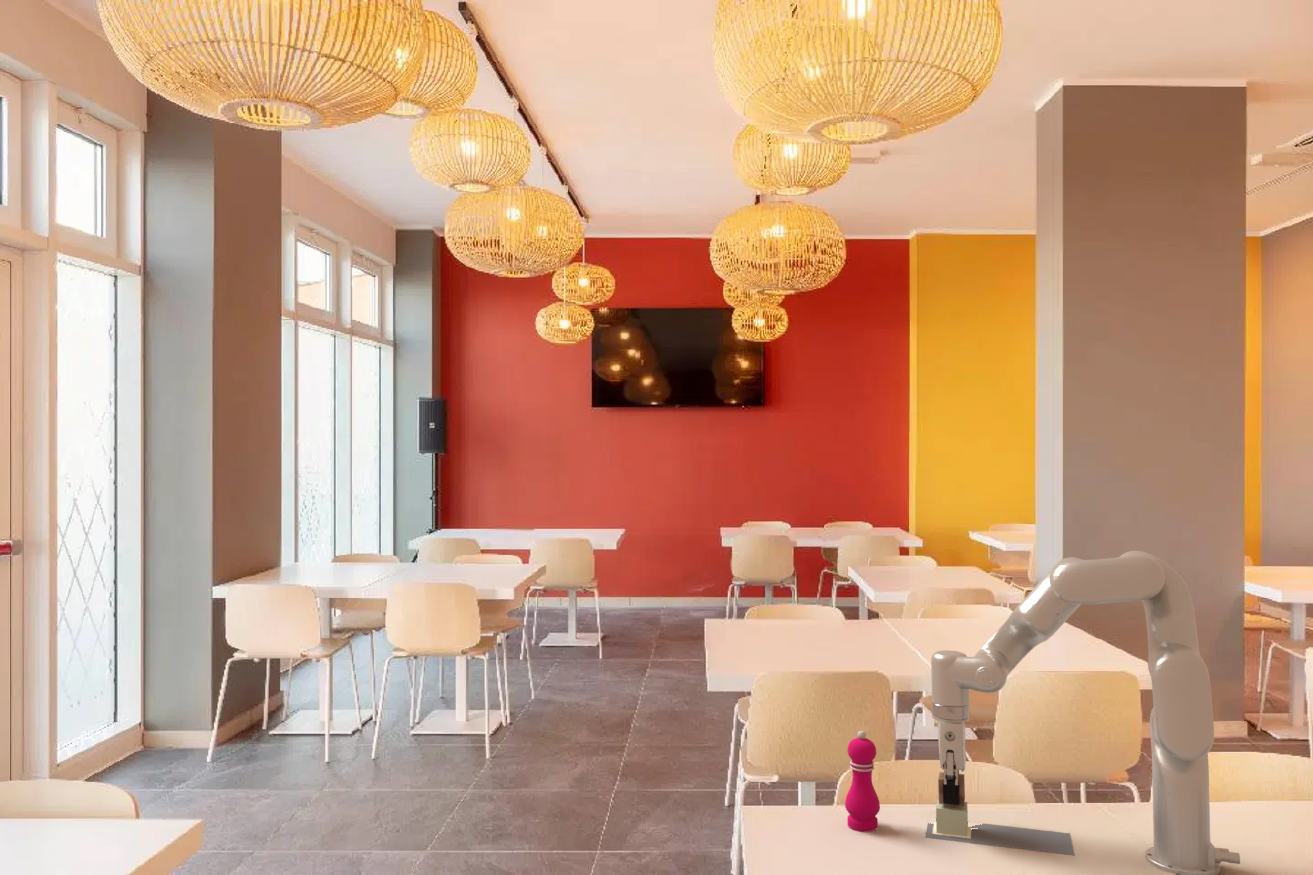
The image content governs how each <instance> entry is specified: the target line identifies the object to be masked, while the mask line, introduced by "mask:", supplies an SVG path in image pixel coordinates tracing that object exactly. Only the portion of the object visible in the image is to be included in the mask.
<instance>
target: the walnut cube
mask: <svg viewBox="0 0 1313 875" xmlns="http://www.w3.org/2000/svg"><path fill="white" fill-rule="evenodd" d="M953 774H954V773H953ZM937 781H938V788H937V789H938V799H939V804H944V803H943V783H944V771H943V772H941V771H940V772H939V774H938V779H937ZM965 781H966V779H965V774H963V773H959V774H958V785H959V799H960V803H959V805H956V806H964V804H965V802H966V791H965V790H966V788H965V787H966V786H965V785H966V784H965ZM946 805H952V804H946Z"/></svg>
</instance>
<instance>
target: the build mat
mask: <svg viewBox="0 0 1313 875" xmlns="http://www.w3.org/2000/svg"><path fill="white" fill-rule="evenodd" d="M982 823H983V822H982ZM926 826H927V827H926V831H925V838H927V839H935V840H943V841H949V842H950V841H951V842H959V843H966V844H968V843H969V844H975V845H983V846H984V845H985V846H990V847H991V846H992V847H999V848H1006V849H1007V848H1008V849H1017V850H1025V851H1030V852H1031V851H1032V852H1041V853H1048V854H1056V855H1057V854H1058V855H1064V856H1072V857H1074V856H1075V855H1076V854H1075V850H1074V845H1073V841H1072V838H1071V837H1072V836H1071V833H1070V832H1061V831H1055V830H1054V831H1053V830H1052V831H1051V830H1043V829H1036V828H1027V827H1019V826H1009V825H999V824H993V823H991V824H990V823H983V824H982V825H981V824H980V825H975V826H972V827H971V825H968V830H967V836H959V835H951V834H942V833H937V830H936V822H934V824H931V823H930V824H929V823H928V822H927V825H926ZM971 828H978V829H972V830H971Z"/></svg>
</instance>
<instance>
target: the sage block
mask: <svg viewBox="0 0 1313 875" xmlns="http://www.w3.org/2000/svg"><path fill="white" fill-rule="evenodd" d="M935 808H936V809H935V812H936V813H935V814H936V816H935V818H936V830H937V833H942V834H951V835H959V836H967V830H968V822H969V820H968V818H969V817H968V801H965V804H964V806H956V805H946V804H939V798H937V801H936V807H935Z"/></svg>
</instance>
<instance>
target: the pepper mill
mask: <svg viewBox="0 0 1313 875" xmlns="http://www.w3.org/2000/svg"><path fill="white" fill-rule="evenodd" d="M847 754H848V757H849V758H850V761H849V764H850V765H849V769H851V771H852V781H851V785H850V787H849V789H848V791H847V793H846V797H845V800H844V808H845V810H846V811H847V813H848V814H849V815H847V826H848V827H849V829H851V830H854V831H856V830H857V832H865V833H866V832H873V830H874V831H876V830H877V829H878V828H879V827H878V826H879V824H878V823H879V822H878V821H879V820H878V817H877V815H878V813H880V811H881V810H880V809H881V806H880V800H879V796H878V794H877V792H876V790H875V787H874V784H873V778H872V776H873V775H872V774H873V771H874V769H875V766H874V765H875V762H874V759H875V758H876V756H877V747H876V745H875V743H874V742H873V741H872V740H871V739H869V738H867V734H866V732H865V731H863V730H859V731H858V732H857V737H855V738H853V739H851V740H850V741H849V743H848V746H847ZM876 828H877V829H876ZM875 829H876V830H875Z"/></svg>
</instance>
